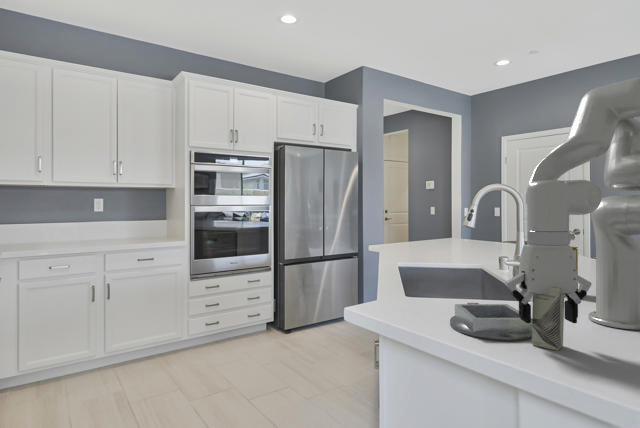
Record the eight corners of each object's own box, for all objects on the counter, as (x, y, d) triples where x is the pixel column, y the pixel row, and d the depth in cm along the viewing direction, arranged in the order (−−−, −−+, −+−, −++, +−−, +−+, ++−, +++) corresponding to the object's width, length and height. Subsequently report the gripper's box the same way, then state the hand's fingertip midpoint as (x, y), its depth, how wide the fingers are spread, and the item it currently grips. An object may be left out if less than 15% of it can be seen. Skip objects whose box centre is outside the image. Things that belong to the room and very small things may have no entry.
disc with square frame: (507, 312, 105) (507, 298, 105) (553, 341, 82) (553, 323, 82) (437, 312, 106) (437, 298, 106) (464, 341, 83) (464, 323, 83)
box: (531, 345, 80) (530, 284, 80) (537, 340, 83) (537, 281, 83) (559, 351, 77) (559, 288, 76) (565, 346, 80) (565, 285, 79)
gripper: (578, 237, 83) (579, 316, 83) (497, 238, 84) (498, 316, 84) (602, 240, 75) (603, 327, 76) (513, 241, 76) (514, 327, 77)
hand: (548, 321), depth 80 cm, fingers open, 8 cm apart
